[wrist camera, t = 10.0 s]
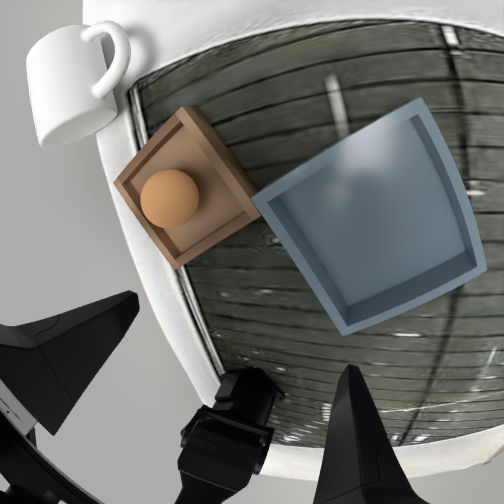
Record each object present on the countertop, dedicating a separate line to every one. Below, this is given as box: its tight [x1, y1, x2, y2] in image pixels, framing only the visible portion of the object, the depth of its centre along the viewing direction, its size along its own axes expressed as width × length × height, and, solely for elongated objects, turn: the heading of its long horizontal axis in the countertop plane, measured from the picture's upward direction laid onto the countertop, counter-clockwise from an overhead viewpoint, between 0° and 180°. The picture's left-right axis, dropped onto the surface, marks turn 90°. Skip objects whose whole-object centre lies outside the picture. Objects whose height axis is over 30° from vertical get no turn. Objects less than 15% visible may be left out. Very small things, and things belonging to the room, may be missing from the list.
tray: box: [113, 106, 262, 270], centre depth 22 cm, size 10×10×2 cm
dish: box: [250, 97, 487, 336], centre depth 18 cm, size 13×13×3 cm
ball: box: [140, 169, 199, 228], centre depth 20 cm, size 4×4×4 cm
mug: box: [26, 21, 131, 149], centre depth 16 cm, size 12×10×8 cm
